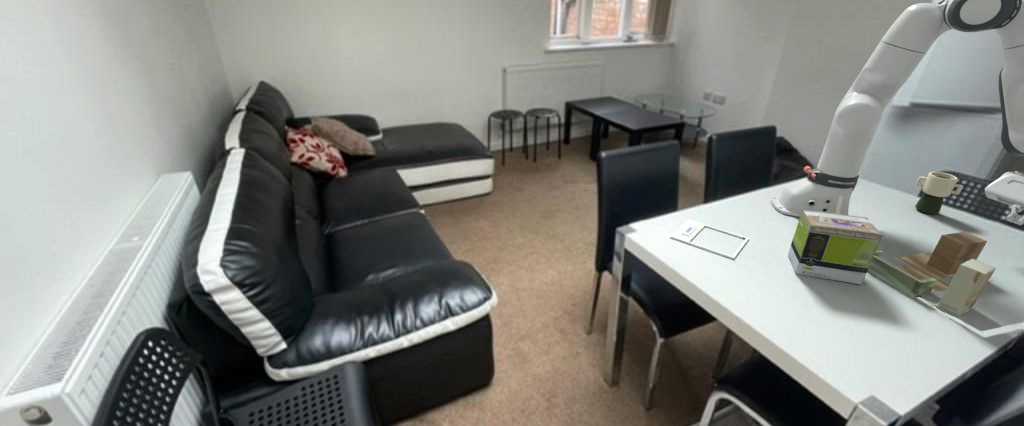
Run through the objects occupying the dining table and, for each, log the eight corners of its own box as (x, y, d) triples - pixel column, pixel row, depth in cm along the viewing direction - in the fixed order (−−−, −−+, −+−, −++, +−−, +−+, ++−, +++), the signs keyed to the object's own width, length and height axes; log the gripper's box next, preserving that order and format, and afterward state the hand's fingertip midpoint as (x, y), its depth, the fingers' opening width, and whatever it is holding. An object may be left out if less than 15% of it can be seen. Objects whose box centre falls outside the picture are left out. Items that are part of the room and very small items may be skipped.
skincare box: (958, 319, 99) (985, 274, 93) (934, 308, 102) (959, 264, 97) (971, 311, 102) (998, 267, 96) (947, 300, 105) (972, 257, 99)
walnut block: (948, 260, 119) (964, 231, 115) (970, 270, 115) (987, 241, 111) (926, 264, 117) (941, 235, 113) (947, 274, 113) (963, 244, 109)
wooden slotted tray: (932, 254, 123) (939, 240, 121) (991, 283, 111) (1000, 268, 109) (859, 266, 118) (865, 252, 116) (913, 298, 106) (921, 282, 104)
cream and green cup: (948, 213, 147) (967, 177, 141) (945, 220, 142) (964, 183, 137) (907, 203, 154) (923, 168, 148) (903, 209, 150) (920, 173, 144)
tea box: (848, 265, 118) (869, 216, 112) (861, 286, 110) (884, 235, 103) (786, 255, 123) (802, 207, 116) (793, 274, 114) (811, 224, 107)
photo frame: (688, 218, 140) (749, 237, 130) (688, 221, 141) (748, 240, 130) (670, 235, 130) (734, 257, 120) (669, 239, 131) (733, 260, 120)
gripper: (1008, 162, 119) (964, 198, 121) (1116, 191, 101) (1063, 233, 104) (1011, 175, 122) (969, 211, 124) (1117, 207, 104) (1065, 247, 107)
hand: (1012, 221), depth 114 cm, fingers closed
